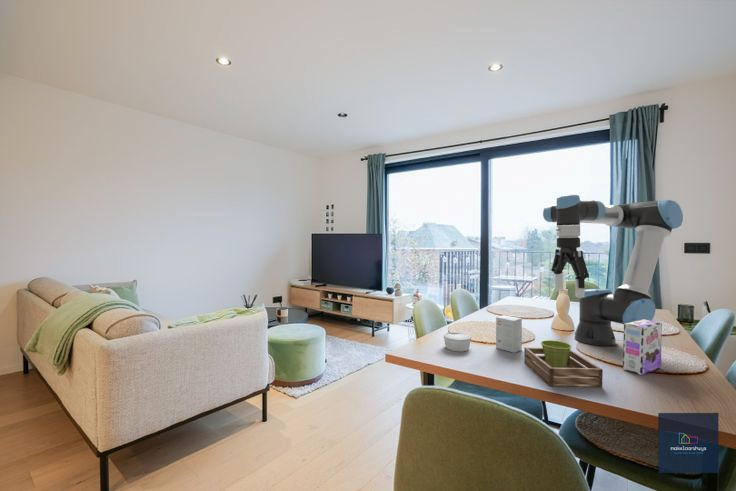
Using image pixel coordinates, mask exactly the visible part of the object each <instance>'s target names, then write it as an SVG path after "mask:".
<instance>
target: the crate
mask: <svg viewBox="0 0 736 491" xmlns="http://www.w3.org/2000/svg"><path fill="white" fill-rule="evenodd" d="M523 350H524V354H523V355H524V356H523V358H524V359H523V363H524V365H526V366H528V367H529V369H531V370H532V371H533V372H534V373H535V374H536V375H537V376H539V378H540V379H541V380H543V382H544V383H546V384H547V385H548V386H549V387H556V386H560V387H559V388H561V387H562V386H563V387H564V388H601V389H602V388H603V379H604V378H603V372H604V370H603V369H602V368H601V367H599V366H598V365H596V364H595V363H593V362H591V361H590V360H588V359H587V358H584V357H583V356H581V355H580V354H578V353H576V351H573V350H572V349H570V351H569V354H568V361H567V367H566V368H552V367H551V366H549V365H548V364H547V363H545V356H544V349H543V347H524V349H523ZM563 387H562V388H563Z"/></svg>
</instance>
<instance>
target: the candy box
mask: <svg viewBox="0 0 736 491" xmlns="http://www.w3.org/2000/svg"><path fill="white" fill-rule="evenodd" d="M662 326H663V323H662V322H659V321H656V320H655V321H654V320H652V321H650V320H644V319H642V320H639V321H635V322H630V323H624V324H623V341H622V342H623V346H622V350H623V351H622V353H623V354H622V370H624V371H626V372H631V373H634V374H636V375H640V376H643V375H646V374H649V373H652V372H654V371H656V370H655V369H657V368H660V367H661V368H662V334H663V333H662V329H663V327H662ZM661 368H660V369H661ZM653 370H654V371H653ZM657 370H658V369H657Z"/></svg>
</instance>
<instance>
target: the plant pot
mask: <svg viewBox="0 0 736 491" xmlns="http://www.w3.org/2000/svg"><path fill="white" fill-rule="evenodd" d="M540 344H541V348H543V349H544V354H543V355H544V356H545V363H547V364H548V365H549V366H551V367H552V368H566V367H567V361H568V354H569V351H570V350H571V348H572V347H573V346H572V345H571V344H570V343H568V342H564V341H559V340H551V339H550V340H548V339H545V340H541V341H540Z"/></svg>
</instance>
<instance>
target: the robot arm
mask: <svg viewBox="0 0 736 491" xmlns="http://www.w3.org/2000/svg"><path fill="white" fill-rule="evenodd" d="M542 216H543V219H544V221H545V222H548V223H556V230H555V231H556V237H557V238H556V247H557V248H556V249H555V253H554V258H553V261H552V265H551V272H553V274H554V291H557V292H561V291H564V272H563V271H564V269H565V266H567V264H570V266H571V268H572V271H573V272H574V275H575V278H574V279H575V280H574V282H575V283H574V284H575V286H574V287H575V288H574V289H575V294H574V295H575V298H579V316H578V317H579V321H578V323H577V326H576V329H575V331H574V339H575V340H576V341H578V342H580V343H583V344H584V343H585V344H588V345H593V346H599V345H601V346H602V347H611V346H614V345H615V346H616V344H617V343H616V336H615V333H614V330H613V328H612V322H613V323H617V324H621V325H624V323H630V322H635V321H639V320H642V319H644V320H650V321H653V320H654V318H655V315H656V312H657V310H656V304H655V302H654V301H652V296H651V294H650V293H649V289H650V287H651V284H652V280H653V276H654V273H655V270H656V266H657V263H658V260H659V256H660V253H661V250H662V247H663V244H664V240H665V238H667V237H670V235H671V234H672V230H674V229H677V228H680V227H681V226H682V223H683V220H684V215H683V210H682V207H681V205H680V204H679V203H678V202H677V201H675V200H672V199H659V200H651V201H640V202H639V201H638V202H629V203H623V204H611V205H607V206H605V204H604V203H603V202H602V201H600V200H599V201H598V200H581V197H580V195H578V194H567V195H566V194H565V195H560V196H558V197H557V198H556V203H553V204H549V205H546V206H545V207H544V208H543V210H542ZM582 223H583V224H602V225H606V226H608V227H616V228H623V229H632V230H633V229H634V231H635V232H637V236H636V238H635V242H634V245H633V248H632V252H631V254H630V258H629V262H628V265H627V268H626V272H625V275H624V278H623V282H622V284H621V285H620V286H618V287H616V289H615V292H614V293H613V291H612V289H610V288H609V289H608V288H589V289H585V280H586V279H589V278H590V274H589V271H588V267H587V264H586V262H585V261H586V260H585V258H584V252H583V250H577V248H578V249H579V248H580V247H581V238H580V236H581V224H582ZM601 346H600V347H601Z"/></svg>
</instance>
